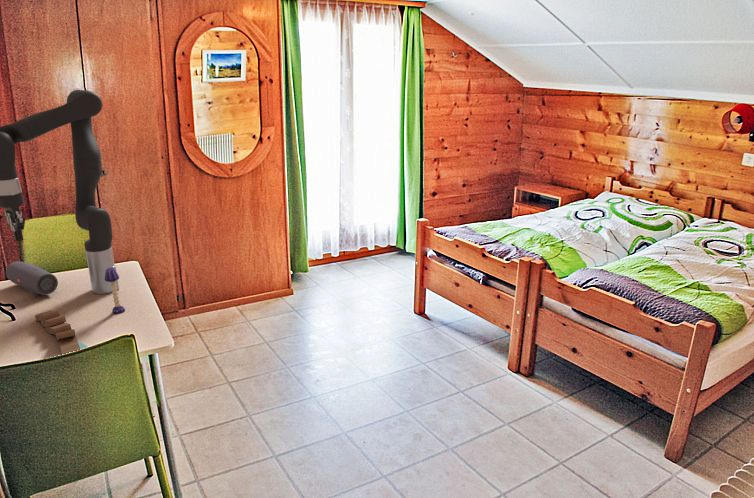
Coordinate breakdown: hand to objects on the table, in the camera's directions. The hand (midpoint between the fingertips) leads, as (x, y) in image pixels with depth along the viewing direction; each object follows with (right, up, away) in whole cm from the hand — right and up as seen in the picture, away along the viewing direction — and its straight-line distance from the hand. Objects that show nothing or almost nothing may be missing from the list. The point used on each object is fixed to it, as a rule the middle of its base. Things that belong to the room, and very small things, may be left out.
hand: (19, 240), depth 200 cm
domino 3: (+14, -29, -4) cm, 33 cm away
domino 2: (+10, -28, 0) cm, 30 cm away
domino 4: (+21, -31, -9) cm, 39 cm away
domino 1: (+6, -26, +4) cm, 27 cm away
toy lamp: (+29, -25, +10) cm, 40 cm away
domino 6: (+26, -34, -15) cm, 45 cm away
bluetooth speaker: (-11, -19, +27) cm, 35 cm away
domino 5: (+25, -32, -15) cm, 43 cm away
